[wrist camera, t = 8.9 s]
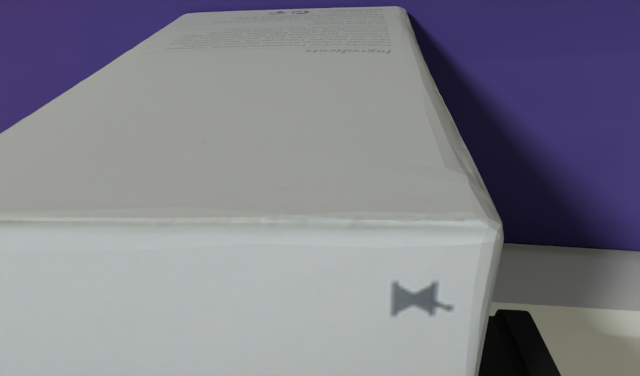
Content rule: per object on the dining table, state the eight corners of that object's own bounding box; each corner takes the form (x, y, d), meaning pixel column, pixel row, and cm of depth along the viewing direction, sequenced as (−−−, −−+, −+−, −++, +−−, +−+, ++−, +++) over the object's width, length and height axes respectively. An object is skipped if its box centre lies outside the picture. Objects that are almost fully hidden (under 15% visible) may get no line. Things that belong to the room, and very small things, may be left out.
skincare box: (169, 11, 13) (-194, 222, 4) (406, 2, 13) (550, 213, 4) (222, 300, 19) (106, 676, 9) (393, 299, 18) (444, 689, 9)
